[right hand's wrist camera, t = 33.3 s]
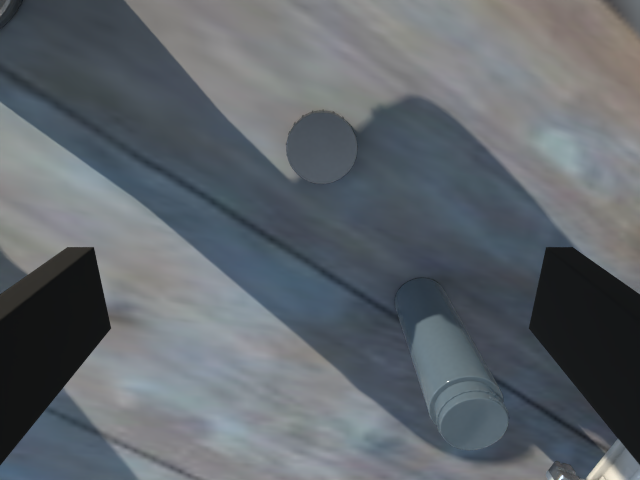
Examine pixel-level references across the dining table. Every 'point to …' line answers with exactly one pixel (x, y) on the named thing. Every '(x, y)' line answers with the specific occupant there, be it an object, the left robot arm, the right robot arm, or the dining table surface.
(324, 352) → the dining table surface
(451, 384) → the bottle
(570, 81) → the dining table surface
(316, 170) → the lid
